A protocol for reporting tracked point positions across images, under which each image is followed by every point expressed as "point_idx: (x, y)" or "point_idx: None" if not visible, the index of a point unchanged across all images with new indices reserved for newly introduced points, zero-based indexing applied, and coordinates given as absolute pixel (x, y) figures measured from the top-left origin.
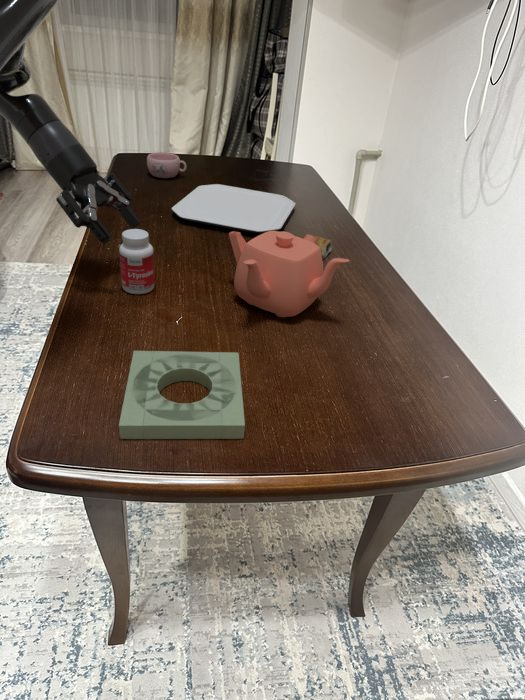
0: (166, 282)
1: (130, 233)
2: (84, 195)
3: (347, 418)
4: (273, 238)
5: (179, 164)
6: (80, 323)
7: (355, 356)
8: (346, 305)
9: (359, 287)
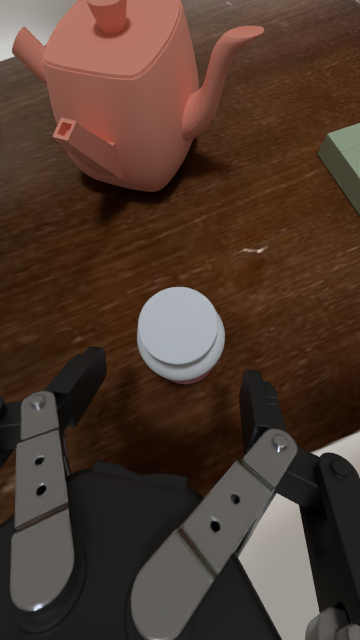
0: None
1: (182, 337)
2: (241, 586)
3: (342, 54)
4: (87, 46)
5: None
6: (345, 388)
7: (232, 63)
8: None
9: None
